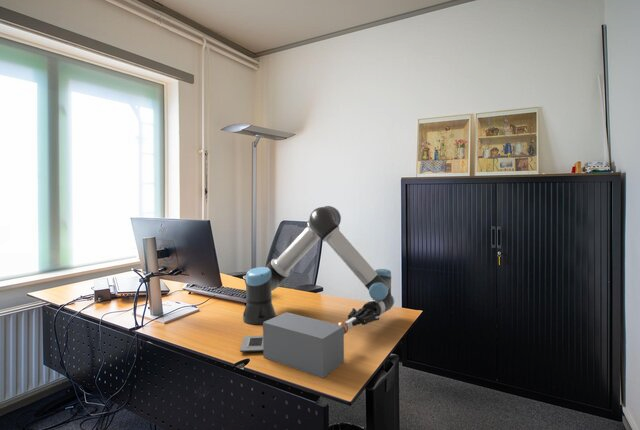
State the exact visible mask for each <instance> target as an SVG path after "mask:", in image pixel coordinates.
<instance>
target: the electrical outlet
mask: <svg viewBox="0 0 640 430" xmlns="http://www.w3.org/2000/svg"><path fill="white" fill-rule="evenodd" d="M239 352H240V353H252V352H253V353H255V352H264V351H263V334H262V335H244V336H243V338H242V342H241V345H240V349H239Z"/></svg>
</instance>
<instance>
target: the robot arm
mask: <svg viewBox="0 0 640 430" xmlns="http://www.w3.org/2000/svg"><path fill="white" fill-rule="evenodd" d="M341 221H342V216H341V213H340V211H339V210H338V209H337V208H336V207H334V206H332V205H331V206H330V205H326V206H325V205H324V206H321V207H317V208H315V209H313V210H312V212H311V213H310V215H309V219H308V221H307V222H306V223H307V226H306V227H305V228H304V230H303V231H302V232H301V233H300V234H299V235H298V236H297V237H296V238H295V239H294V240H293V241H292V242H291V243H290V244H289V245H288V247H287V248H286V249H284V251H283V252H282V253H281V254H280V255H279V256H278V257H277V258H272V259H271V260H270V261H269V263H268V264H267V265H266V266H257V267H254V268H251V269H249V270H248V271H247V272H246V283H245V292H246V293H245V294H246V304H245V307H244V310H243V311H244V312H243V314H242V319H243V320H242V321H243V322H244V323H245V324H249V325H263V322H265V321H267V320H269V319H272V318H274V317H276V311H275V307H274V305H273V302H272V300H273V299H272V298H273V297H272V291H274V290H276V289H277V288H279V287H281V286H282V285H283V284H284V282H285V281H286V279H287V278H288V277H289V276H290V271H291V270H292V269H293V268H294V267H295V265H297V264H298V262H300V260H302V258H303V257H304V256H305V255H306V254H307V253H308V252H309V251H310V250H311V249H312V248H313V247H314V246H315V245H316V243H318V242H319V240H321V241H322V242H325V243H327V244H328V245H329V247H330V248H331V249H332V250H333V251H334V253H335V254H336V255H337V256H338V257H339V258H340V259H341V260H342V262H343V263H345V265H346V266H347V267H348V268H349V269H350V270H351V272H352V273H353V274H354V275H355V277H356V278H357V279H358V280H359V281H360V282H361V283H362V285H363V286H364V287H365V288H366V289H367V291H368V293H369V297H371V300H369V301H367V302H366V303H364V304H363V306H362V307H361V308H358V309H356V308H352V309H351V311H350V313H349V314H348V315H347V320H345V322H344V323H346V324H347V326H348V331H349V330H350V329H352V328H353V327H356V326H357V325H362V326H364V325H368V324H370V323H373V322H375V321H380V316H382V315H383V314H384V313H386V312H388V311H390V310H391V309H392V308H393V307H394V305H395V298H394V296H393V295H392V272H391V270H389V269H386V268H378V269H376V270H375V269H374V268H373V267H372V266H371V265H370V264H369V262H368V261H367V260H366V259H365V257H363V255H362V254H361V253H360V252H359V251H358V250H357V249H356V248H355V247H354V246H353V244H352V243H351V242H350V241H349V239H348V238H346V236H345V235H344V234H343V233H342V232H341V231H340V223H341Z"/></svg>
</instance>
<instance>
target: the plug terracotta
mask: <svg viewBox="0 0 640 430" xmlns="http://www.w3.org/2000/svg"><path fill="white" fill-rule="evenodd" d="M336 324H337V325H342V326H344V335H345V334H347V333H348V332H349V330H348V326H347V324H346V323H345V322H344V321H340V322H339V323H336Z"/></svg>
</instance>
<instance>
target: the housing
mask: <svg viewBox="0 0 640 430" xmlns="http://www.w3.org/2000/svg"><path fill="white" fill-rule="evenodd" d="M337 324H338V323H332V322H330V321H329V322H328V321H325V320H321V319H316V318H312V317H307V316H303V315H299V314H296V313H292V312H287V311H286V312H283V313H281V314H279V315H277V316H276V317H274V318H272V319H269V320H267V321H265V322H263V324H262V335H263V351H262V352H263V358H264V359H267V360H270V361H272V362H276V363H279V364H281V365H284V366H288V367H290V368H293V369H296V370H298V371H301V372H304V373H306V374H310V375H312V376H315V377H318V378H322V379H324V378H325V377H327V376H328V375H329V374H331V373H332V372H333V371H335V370H336V369H337V368H339V367H340V366H341V365H343V364H344V362H345V334H344V326H342V325H337Z"/></svg>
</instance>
